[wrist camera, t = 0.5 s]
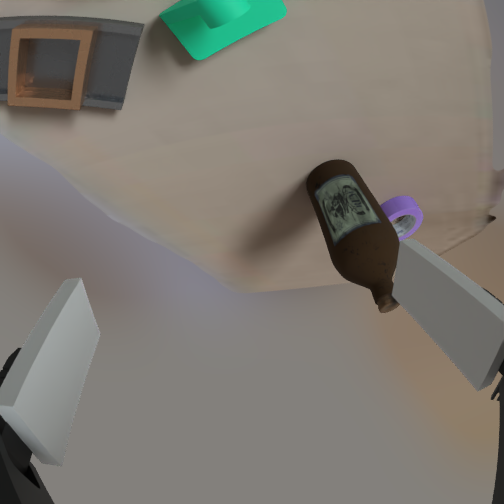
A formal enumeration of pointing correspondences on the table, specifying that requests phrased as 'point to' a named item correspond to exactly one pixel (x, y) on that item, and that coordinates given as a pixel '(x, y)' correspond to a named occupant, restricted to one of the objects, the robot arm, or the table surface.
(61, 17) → the wooden frame on tray
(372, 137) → the table surface
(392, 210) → the masking tape
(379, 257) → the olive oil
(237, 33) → the camera mount
